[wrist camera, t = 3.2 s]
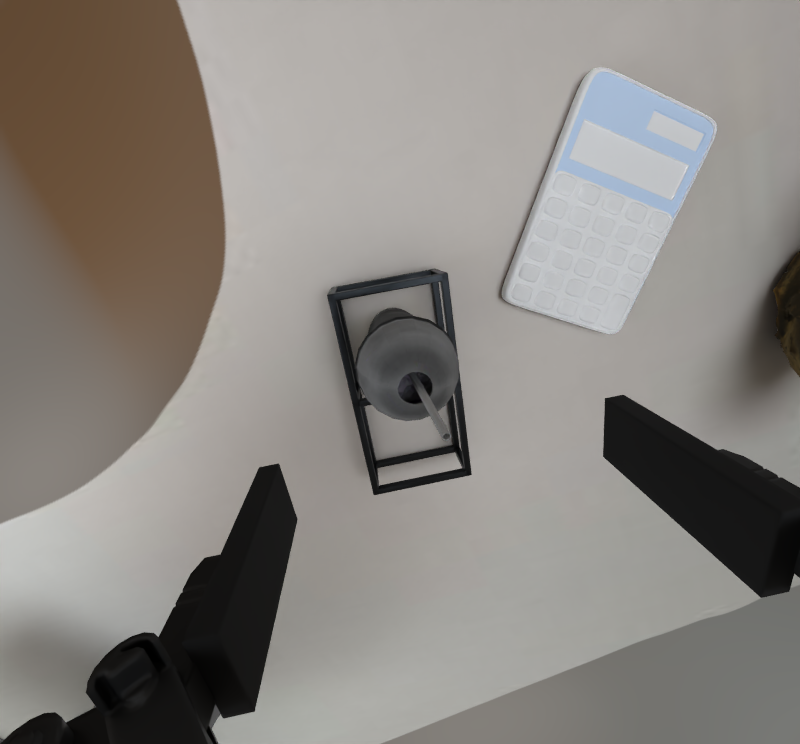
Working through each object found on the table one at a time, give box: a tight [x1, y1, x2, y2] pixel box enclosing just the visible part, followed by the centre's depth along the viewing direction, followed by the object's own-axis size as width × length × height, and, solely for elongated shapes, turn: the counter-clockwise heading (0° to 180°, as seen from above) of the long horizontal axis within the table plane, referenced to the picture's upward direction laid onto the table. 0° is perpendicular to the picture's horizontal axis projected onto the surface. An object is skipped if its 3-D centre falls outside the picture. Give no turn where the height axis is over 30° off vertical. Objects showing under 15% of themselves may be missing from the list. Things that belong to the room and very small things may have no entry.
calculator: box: [502, 67, 717, 334], centre depth 34 cm, size 13×20×2 cm, turn 163°
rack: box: [327, 269, 472, 495], centre depth 36 cm, size 10×20×5 cm, turn 10°
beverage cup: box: [355, 308, 459, 441], centre depth 27 cm, size 7×7×20 cm
